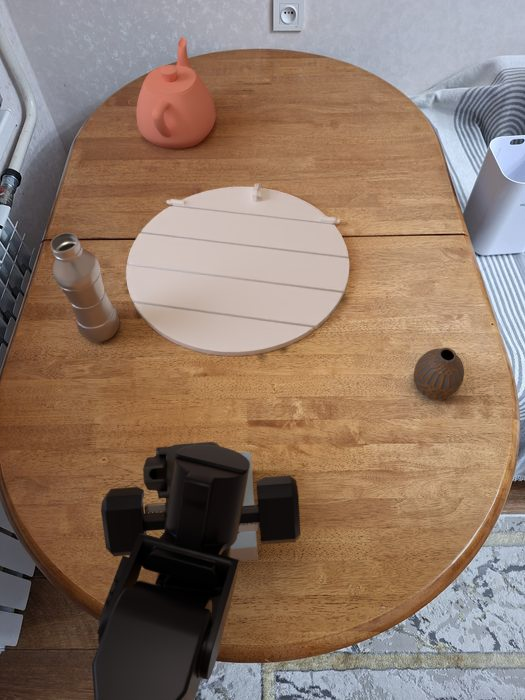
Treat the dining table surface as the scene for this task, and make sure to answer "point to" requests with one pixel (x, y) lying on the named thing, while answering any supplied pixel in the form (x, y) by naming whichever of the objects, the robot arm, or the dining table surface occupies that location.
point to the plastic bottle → (84, 288)
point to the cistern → (247, 541)
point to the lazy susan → (237, 270)
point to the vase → (439, 373)
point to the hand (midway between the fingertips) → (208, 479)
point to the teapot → (175, 105)
